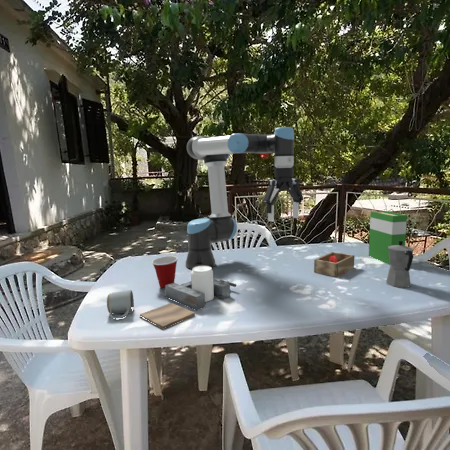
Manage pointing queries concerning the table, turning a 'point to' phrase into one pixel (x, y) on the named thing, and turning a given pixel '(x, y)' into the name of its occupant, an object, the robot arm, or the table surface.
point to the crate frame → (334, 264)
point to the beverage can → (203, 281)
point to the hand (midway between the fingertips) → (283, 219)
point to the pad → (167, 315)
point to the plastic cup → (165, 269)
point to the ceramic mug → (120, 303)
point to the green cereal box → (385, 233)
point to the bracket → (334, 260)
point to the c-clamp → (196, 293)
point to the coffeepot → (399, 265)
